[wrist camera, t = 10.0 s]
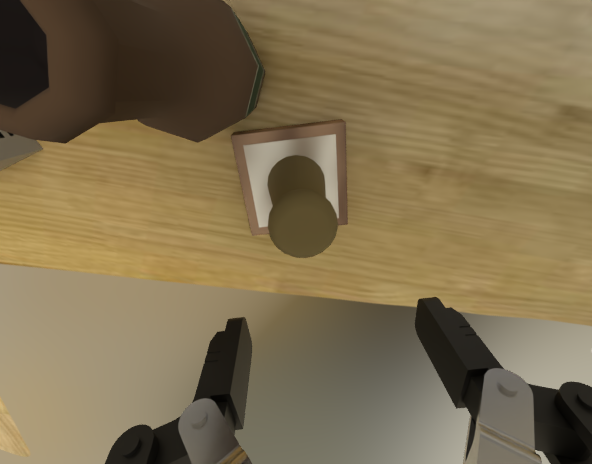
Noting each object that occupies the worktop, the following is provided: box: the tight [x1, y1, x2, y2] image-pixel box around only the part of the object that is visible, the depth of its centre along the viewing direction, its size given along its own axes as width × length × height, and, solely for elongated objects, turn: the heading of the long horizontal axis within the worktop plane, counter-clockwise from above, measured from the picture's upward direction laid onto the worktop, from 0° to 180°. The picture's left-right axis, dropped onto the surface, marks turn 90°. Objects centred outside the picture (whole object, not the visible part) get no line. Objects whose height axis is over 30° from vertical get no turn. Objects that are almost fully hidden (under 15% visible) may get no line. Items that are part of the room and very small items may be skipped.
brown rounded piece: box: [267, 155, 338, 258], centre depth 24 cm, size 6×6×11 cm
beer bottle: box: [0, 0, 265, 143], centre depth 15 cm, size 8×8×24 cm
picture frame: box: [231, 120, 348, 236], centre depth 30 cm, size 11×11×2 cm
